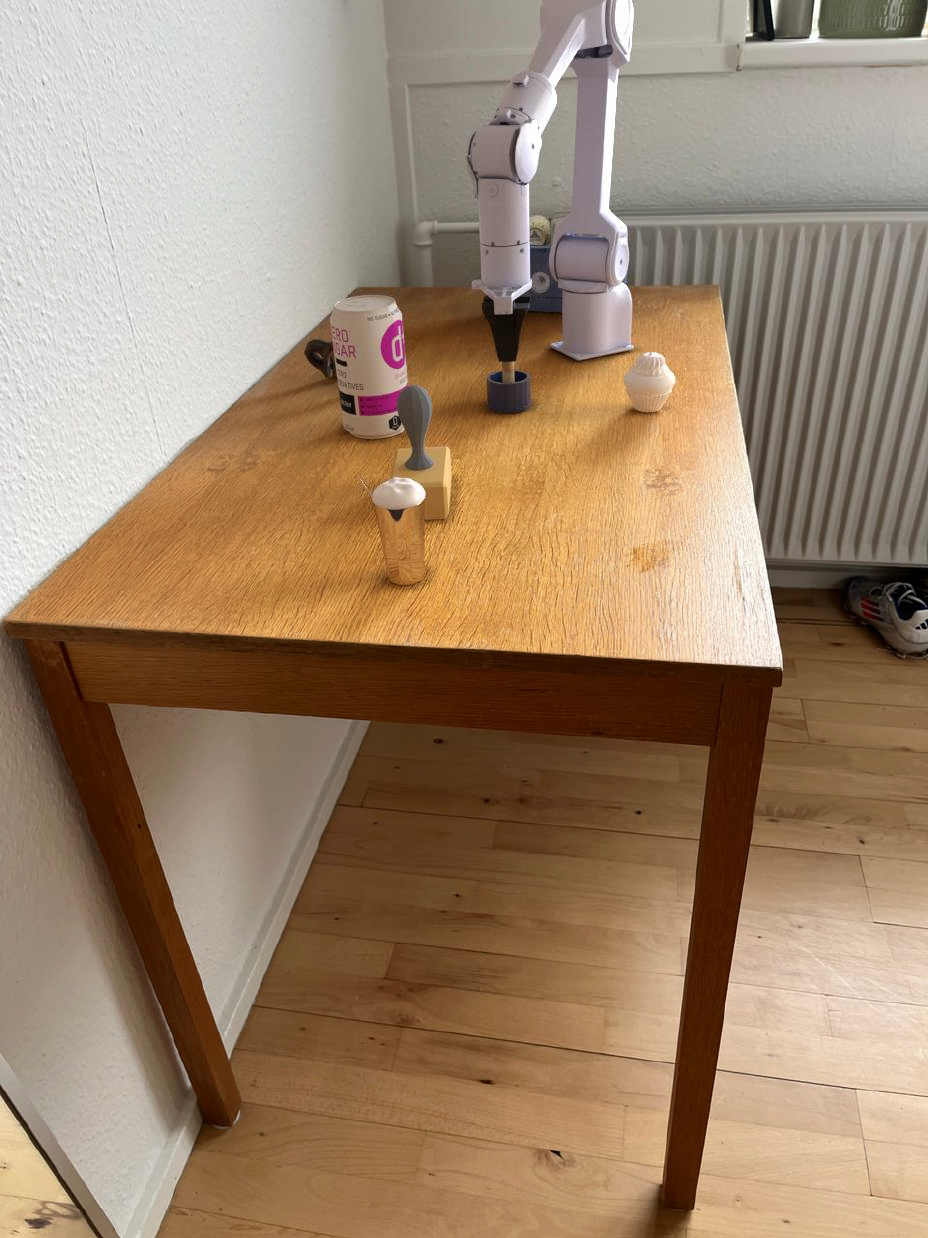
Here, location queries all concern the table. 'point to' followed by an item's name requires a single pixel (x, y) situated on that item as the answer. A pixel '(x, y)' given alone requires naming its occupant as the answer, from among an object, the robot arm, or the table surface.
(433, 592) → the table surface
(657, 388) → the muffin
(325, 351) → the pottery mug
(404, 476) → the rubber stamp
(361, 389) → the supplement can
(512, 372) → the beige capped rod
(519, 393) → the cup
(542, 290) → the vhs cassette tape
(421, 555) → the milkshake
